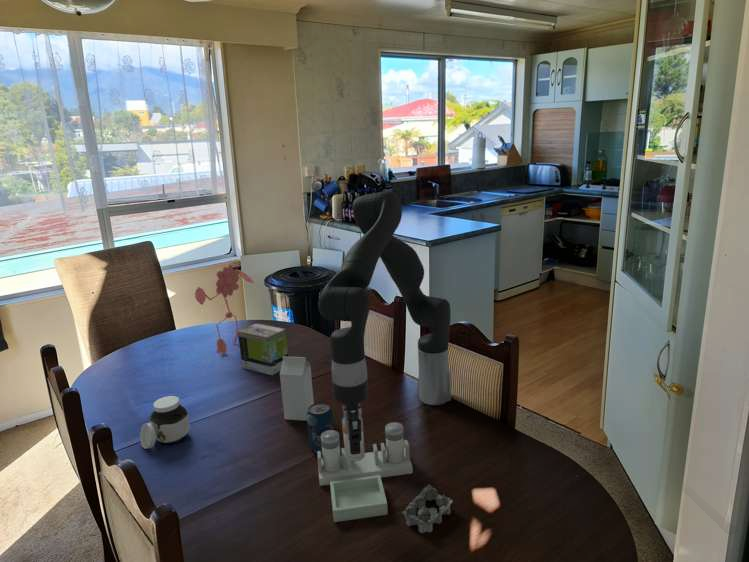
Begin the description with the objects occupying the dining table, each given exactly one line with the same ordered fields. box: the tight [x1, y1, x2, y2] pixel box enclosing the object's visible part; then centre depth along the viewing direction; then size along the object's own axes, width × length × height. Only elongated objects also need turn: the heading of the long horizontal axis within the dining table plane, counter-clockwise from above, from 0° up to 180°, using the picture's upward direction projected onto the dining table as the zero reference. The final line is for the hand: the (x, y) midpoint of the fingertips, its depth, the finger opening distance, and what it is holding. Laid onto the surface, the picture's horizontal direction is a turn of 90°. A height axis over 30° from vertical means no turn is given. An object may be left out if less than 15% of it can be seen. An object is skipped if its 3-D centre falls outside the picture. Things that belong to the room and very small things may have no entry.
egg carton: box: [401, 484, 454, 534], centre depth 116 cm, size 11×8×4 cm
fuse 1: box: [321, 429, 342, 473], centre depth 131 cm, size 5×5×9 cm
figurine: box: [194, 263, 254, 359], centre depth 205 cm, size 15×26×35 cm, turn 148°
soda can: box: [306, 402, 335, 455], centre depth 142 cm, size 7×7×12 cm
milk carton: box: [279, 356, 315, 422], centre depth 158 cm, size 7×7×19 cm
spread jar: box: [139, 395, 191, 450], centre depth 149 cm, size 12×11×12 cm
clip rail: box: [316, 439, 414, 487], centre depth 133 cm, size 23×8×6 cm, turn 98°
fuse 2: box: [384, 421, 405, 464], centre depth 133 cm, size 5×5×9 cm
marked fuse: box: [341, 416, 366, 462], centre depth 117 cm, size 5×5×9 cm
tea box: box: [237, 322, 289, 376], centre depth 193 cm, size 15×10×15 cm
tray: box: [329, 475, 389, 523], centre depth 121 cm, size 12×10×3 cm
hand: (354, 446), depth 117 cm, fingers closed on marked fuse, 4 cm apart
